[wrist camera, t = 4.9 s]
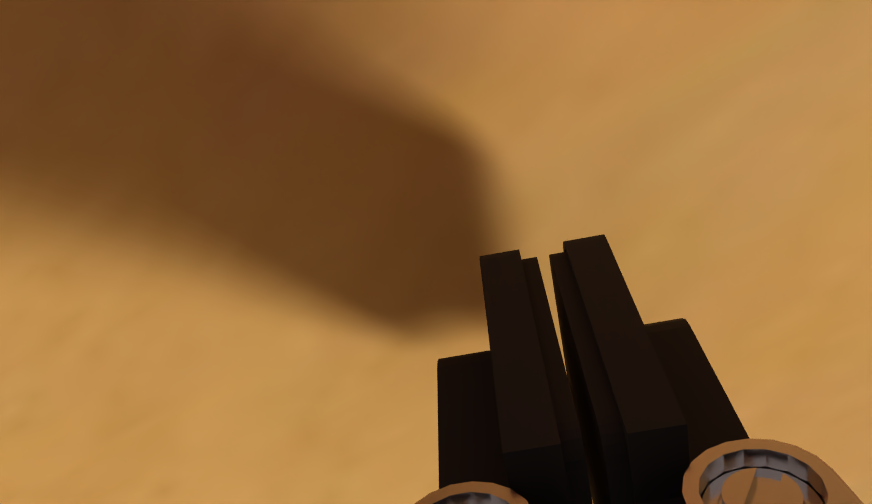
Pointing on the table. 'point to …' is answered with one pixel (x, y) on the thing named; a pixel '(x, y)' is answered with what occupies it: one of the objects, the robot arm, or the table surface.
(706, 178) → the table surface
